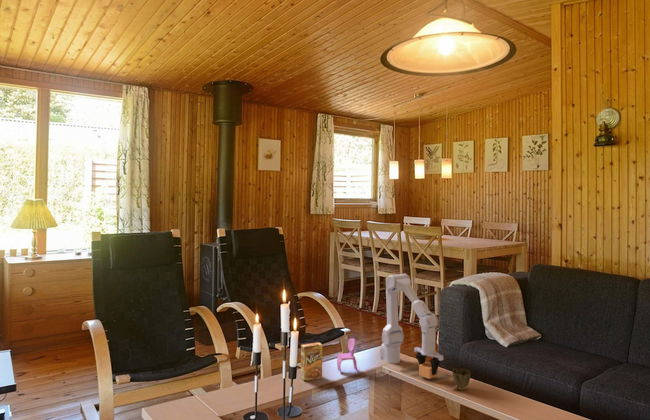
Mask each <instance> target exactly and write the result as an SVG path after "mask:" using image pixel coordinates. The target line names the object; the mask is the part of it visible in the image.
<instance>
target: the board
mask: <svg viewBox="0 0 650 420" xmlns="http://www.w3.org/2000/svg"><path fill="white" fill-rule="evenodd" d="M397 371H399V372H401V373H404V374H406V375H408V376H411V377H414V378H417V379H419V380H421V381H423V382H425V383H428V384H431V385H436V384H439V383H440V382H443V381H445V380H448V379H450V378H453V375H452V374H451V375H450V374H449V373H445V372H442V371H440V370H438V376H436V377H433V378H432V379H425V378H424V377H423V376H421V375H419V363H416V364H412V365H410V366H407V367H404V368H401V369H399V370H397Z"/></svg>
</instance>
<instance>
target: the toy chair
mask: <svg viewBox="0 0 650 420" xmlns="http://www.w3.org/2000/svg"><path fill="white" fill-rule="evenodd" d="M355 344H356V339H355V338H352V337H351V338H349V339H348V344H347V349H348V351H349V352H346V353H345V352H344V353H337V354H338V355H337V359H336V366H337V370H338V372H339V371H340V372H339V373H340V374H341V373H342V369H341V364H342V362H344V361H347V360H348V361H350V360H352V362H353V368H354V370H355V372H356V373H357V374H359V370H358V366H357V359H356V357H355V347H356V345H355Z"/></svg>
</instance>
